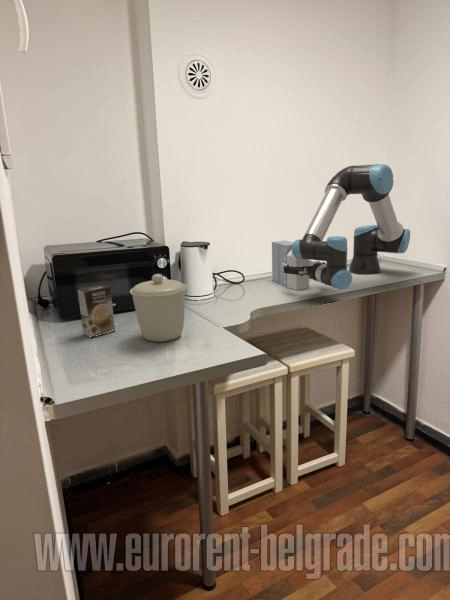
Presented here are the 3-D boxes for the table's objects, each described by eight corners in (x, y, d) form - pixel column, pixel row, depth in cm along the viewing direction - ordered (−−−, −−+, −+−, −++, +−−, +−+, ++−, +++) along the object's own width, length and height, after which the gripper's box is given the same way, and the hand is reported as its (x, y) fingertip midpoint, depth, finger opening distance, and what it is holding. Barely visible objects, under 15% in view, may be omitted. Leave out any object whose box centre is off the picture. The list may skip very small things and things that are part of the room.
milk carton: (299, 285, 200) (299, 244, 194) (309, 288, 194) (309, 246, 188) (286, 287, 196) (286, 246, 191) (296, 290, 190) (296, 247, 185)
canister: (166, 350, 130) (160, 283, 124) (123, 341, 139) (115, 277, 134) (201, 332, 144) (197, 270, 139) (160, 324, 154) (154, 266, 148)
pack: (285, 278, 213) (284, 240, 208) (299, 284, 200) (299, 243, 195) (271, 280, 210) (271, 241, 205) (285, 286, 198) (285, 245, 193)
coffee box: (91, 338, 143) (84, 292, 139) (82, 334, 148) (76, 289, 143) (116, 331, 149) (110, 286, 145) (107, 327, 154) (101, 283, 149)
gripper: (295, 286, 172) (271, 276, 191) (347, 278, 180) (319, 269, 199) (295, 267, 169) (270, 259, 189) (348, 260, 178) (319, 253, 197)
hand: (295, 264), depth 194 cm, fingers open, 13 cm apart
